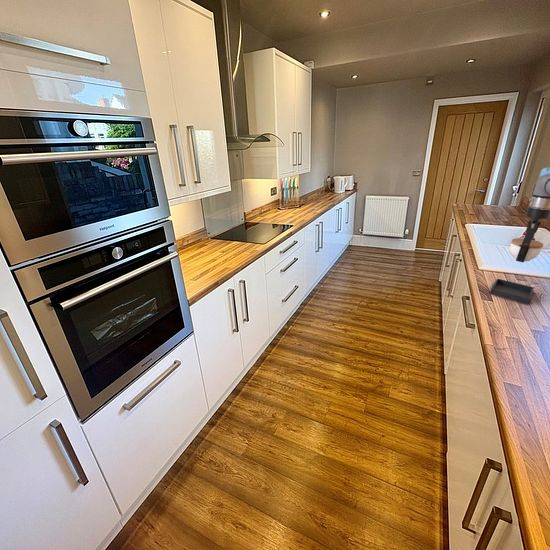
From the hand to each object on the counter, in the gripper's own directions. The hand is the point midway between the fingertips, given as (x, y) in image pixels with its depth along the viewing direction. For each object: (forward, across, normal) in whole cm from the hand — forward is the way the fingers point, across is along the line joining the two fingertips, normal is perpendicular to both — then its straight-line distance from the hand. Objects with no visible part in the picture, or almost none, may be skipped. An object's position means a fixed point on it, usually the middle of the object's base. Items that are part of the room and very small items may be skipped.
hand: (521, 257), depth 128 cm
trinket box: (+1, 0, 0) cm, 1 cm away
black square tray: (+15, +5, +1) cm, 16 cm away
